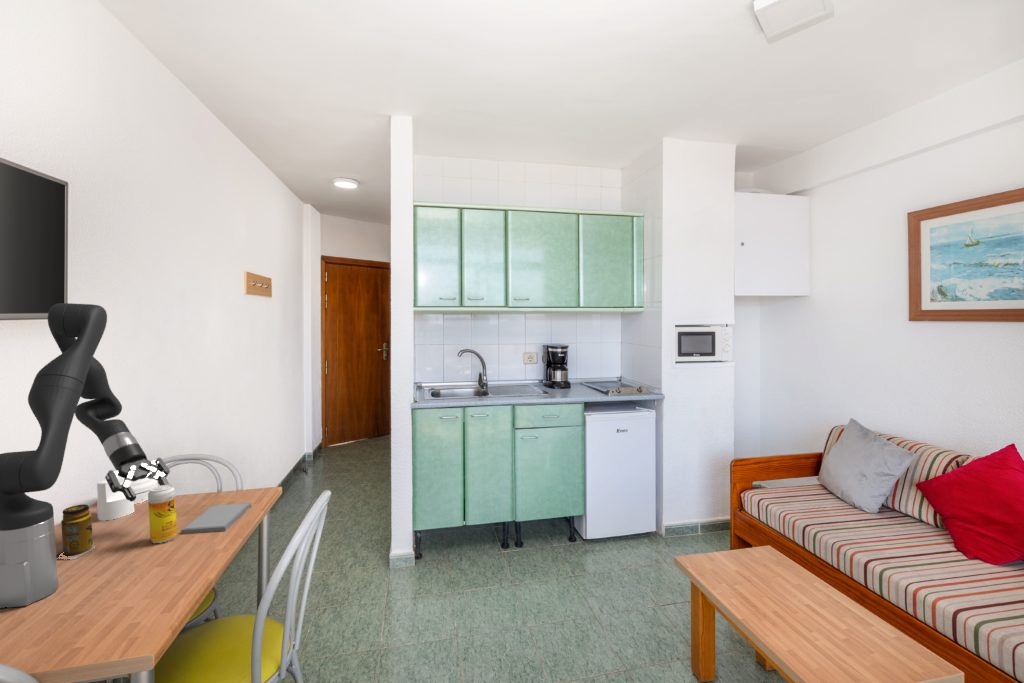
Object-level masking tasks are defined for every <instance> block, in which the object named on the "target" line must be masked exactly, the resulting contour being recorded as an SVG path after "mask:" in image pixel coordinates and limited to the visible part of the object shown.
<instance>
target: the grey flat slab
mask: <svg viewBox="0 0 1024 683" xmlns="http://www.w3.org/2000/svg"><path fill="white" fill-rule="evenodd" d="M251 507H252V502H248V503H247V502H244V503H232V504H230V503H228V504H217V505H216V504H214V505H211V506H210V507H209V508H207V509H206V510H204V512H202V513H201V514H200V515H199V516H197V517H196V518H195V519H193V520H192V521H191V522H189V523H188V524H187V525H186V526H184V527H183V528H182V529H181V530H180V531H181V533H180V534H181V535H183V534H185V533H187V534H199V533H201V534H202V533H212V532H213V533H215V532H214V531H216V532H225V531H226V532H227V530H229V528H230V527H231V526H232V525H234V524H235V523H236V522H237V520H238V518H239V517H240V516H241V515H242V514H243V513H244V512H245V511H246V510H247V509H248V510H249V509H251ZM248 510H247V511H248ZM247 511H246V512H247ZM246 512H245V513H246ZM245 513H244V514H245ZM244 514H243V515H244ZM243 515H242V516H243ZM242 516H241V517H242ZM241 517H240V518H241ZM240 518H239V519H240ZM185 535H186V534H185Z"/></svg>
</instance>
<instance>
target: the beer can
mask: <svg viewBox="0 0 1024 683" xmlns="http://www.w3.org/2000/svg"><path fill="white" fill-rule="evenodd" d="M147 502H148V503H147V504H148V519H149V540H150V541H151V542H152V543H153V542H154V543H153V544H155V543H160V544H163V543H162V542H165V543H168V542H171V541H172V539H173V540H174V539H175V538H176V536H177V535H178V528H177V524H178V523H177V510H176V509H177V506H176V505H177V504H176V489H175V488H174V486H173V484H169V485H161V486H160V485H158V486H157V487H154V488H151V489H150V491H149V493H148V501H147ZM170 540H171V541H170ZM167 541H168V542H167Z"/></svg>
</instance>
